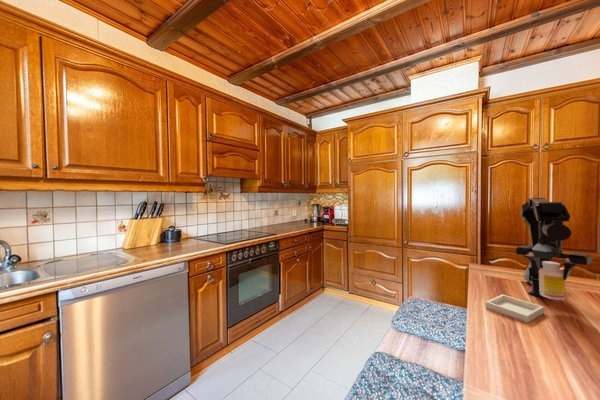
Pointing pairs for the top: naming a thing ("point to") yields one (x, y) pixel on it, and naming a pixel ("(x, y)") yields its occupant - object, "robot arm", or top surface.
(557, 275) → the supplement bottle
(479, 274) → the top surface
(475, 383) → the top surface
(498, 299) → the tray
